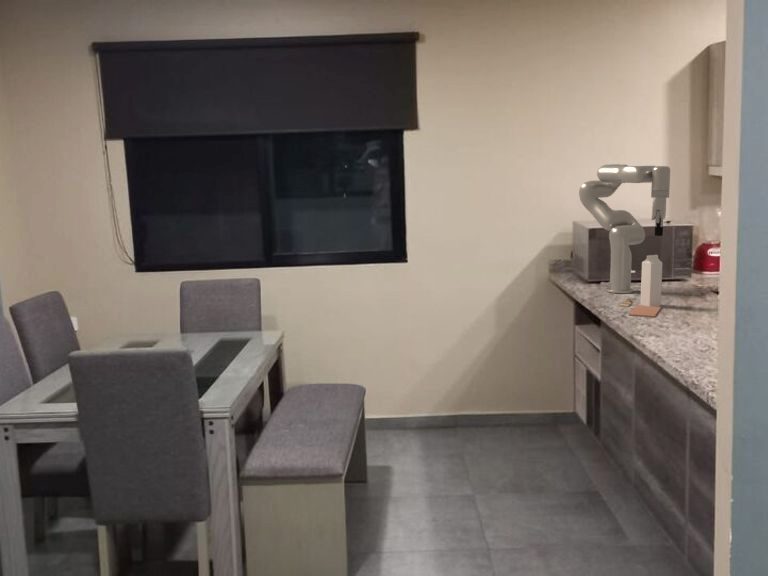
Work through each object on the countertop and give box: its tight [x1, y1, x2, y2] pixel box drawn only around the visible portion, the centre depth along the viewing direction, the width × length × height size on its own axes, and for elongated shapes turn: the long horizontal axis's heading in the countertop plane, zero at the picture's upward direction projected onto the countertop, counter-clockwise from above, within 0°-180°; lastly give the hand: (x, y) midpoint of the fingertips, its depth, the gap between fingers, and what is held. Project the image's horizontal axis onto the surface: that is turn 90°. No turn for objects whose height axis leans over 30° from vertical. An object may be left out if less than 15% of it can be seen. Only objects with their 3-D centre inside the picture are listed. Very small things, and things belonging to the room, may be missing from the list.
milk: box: [639, 254, 663, 307], centre depth 325 cm, size 6×6×22 cm
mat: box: [628, 304, 662, 318], centre depth 314 cm, size 10×20×1 cm, turn 153°
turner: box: [618, 298, 632, 308], centre depth 332 cm, size 15×4×1 cm, turn 153°
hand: (658, 235), depth 337 cm, fingers closed
